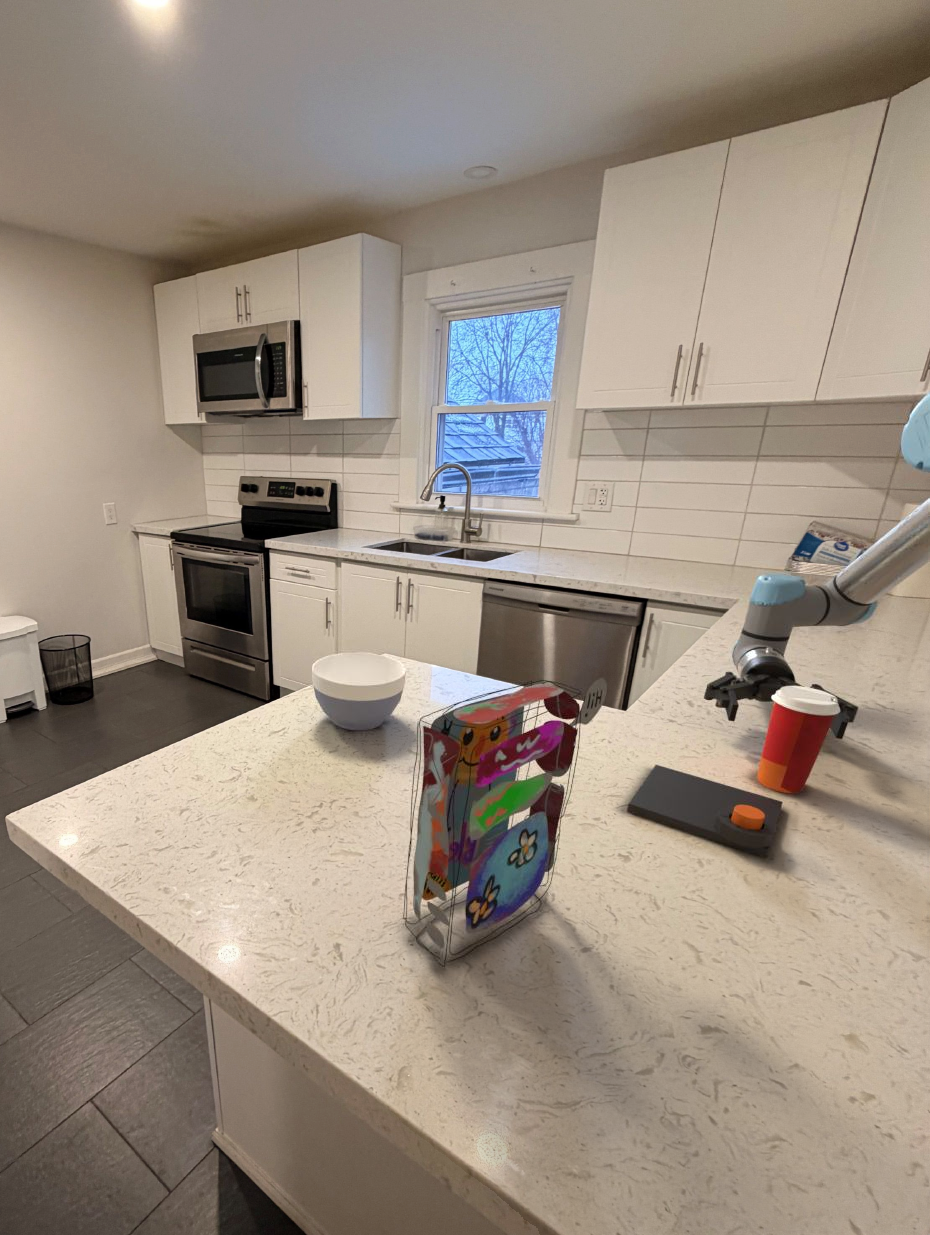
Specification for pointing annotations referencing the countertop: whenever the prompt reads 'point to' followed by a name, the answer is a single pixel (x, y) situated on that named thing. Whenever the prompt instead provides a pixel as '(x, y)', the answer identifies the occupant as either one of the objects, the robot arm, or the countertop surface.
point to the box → (492, 803)
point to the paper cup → (795, 736)
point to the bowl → (358, 688)
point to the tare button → (748, 817)
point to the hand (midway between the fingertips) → (786, 721)
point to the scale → (705, 808)
